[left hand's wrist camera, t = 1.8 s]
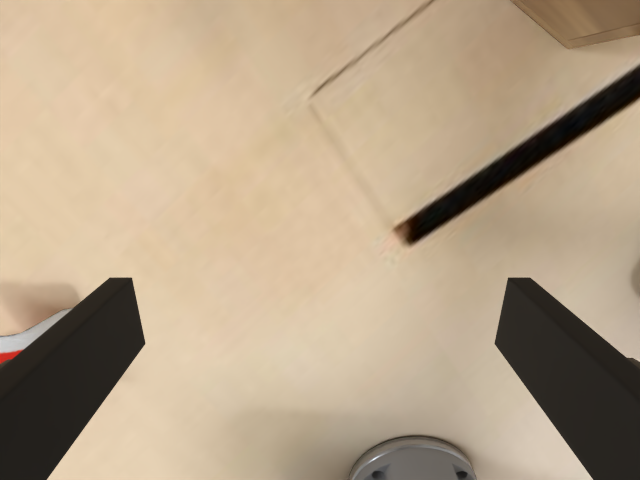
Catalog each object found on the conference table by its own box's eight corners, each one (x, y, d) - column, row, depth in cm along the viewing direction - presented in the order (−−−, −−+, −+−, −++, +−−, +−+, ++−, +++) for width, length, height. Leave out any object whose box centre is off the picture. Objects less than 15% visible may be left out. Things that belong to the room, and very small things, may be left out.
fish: (-121, 365, 32) (-179, 459, 25) (42, 258, 36) (35, 312, 28) (-10, 413, 39) (-29, 500, 31) (119, 319, 43) (130, 376, 35)
